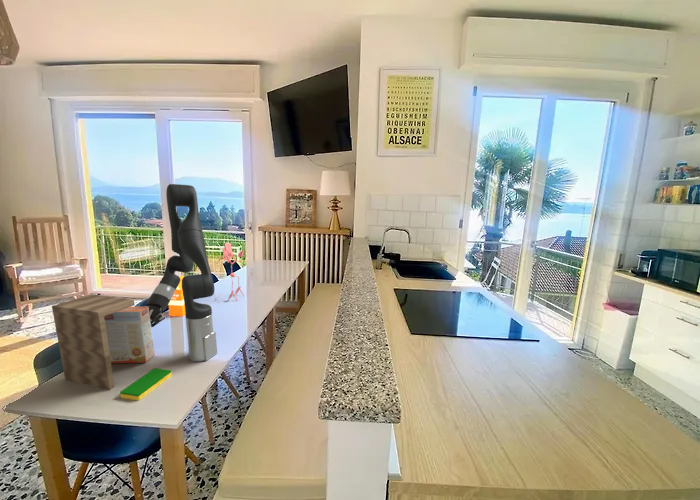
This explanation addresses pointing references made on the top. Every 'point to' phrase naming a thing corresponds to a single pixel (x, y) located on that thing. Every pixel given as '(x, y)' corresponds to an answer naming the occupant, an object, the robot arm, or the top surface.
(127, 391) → the dish sponge
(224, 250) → the figurine
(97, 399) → the top surface
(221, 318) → the top surface
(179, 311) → the orange juice
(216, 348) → the robot arm
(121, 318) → the cracker box
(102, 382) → the walnut shelf
